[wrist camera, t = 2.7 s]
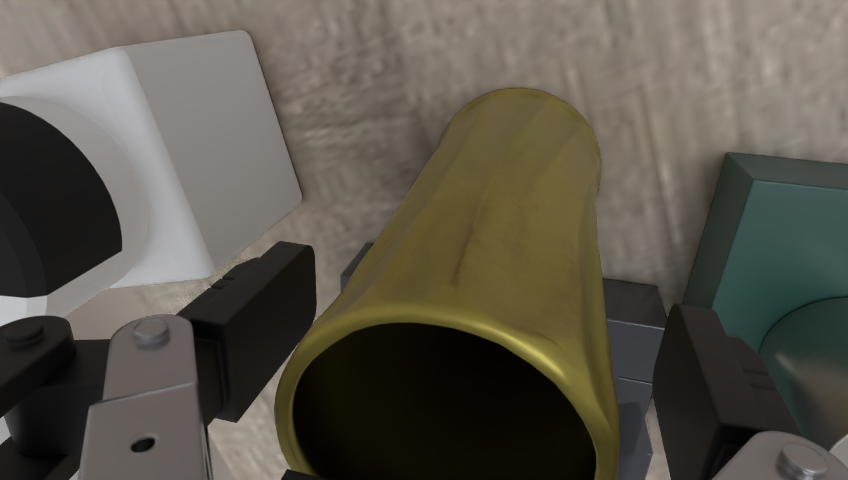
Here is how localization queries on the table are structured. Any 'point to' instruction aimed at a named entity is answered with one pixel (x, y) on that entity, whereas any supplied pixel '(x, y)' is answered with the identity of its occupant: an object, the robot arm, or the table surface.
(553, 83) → the table surface
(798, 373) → the grey rotary knob
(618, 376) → the square flange with hole
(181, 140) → the medicine bottle
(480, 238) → the vase
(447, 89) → the table surface
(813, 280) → the panel
